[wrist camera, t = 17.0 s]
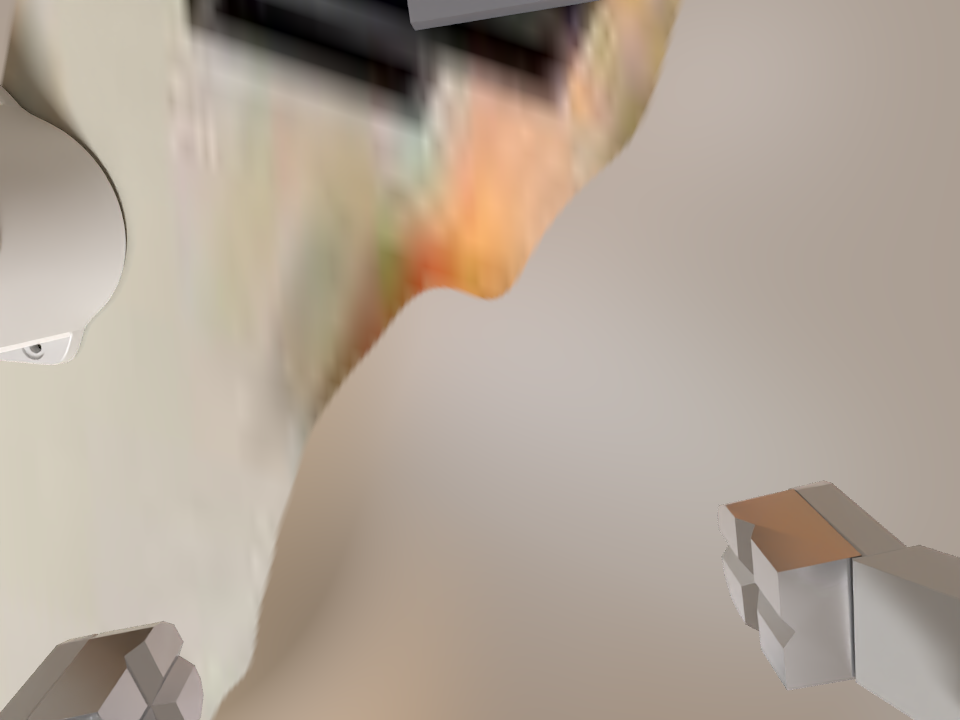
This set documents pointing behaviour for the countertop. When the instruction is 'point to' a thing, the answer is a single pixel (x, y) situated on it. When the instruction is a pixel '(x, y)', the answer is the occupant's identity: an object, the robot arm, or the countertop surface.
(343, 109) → the countertop surface
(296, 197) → the countertop surface
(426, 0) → the board
